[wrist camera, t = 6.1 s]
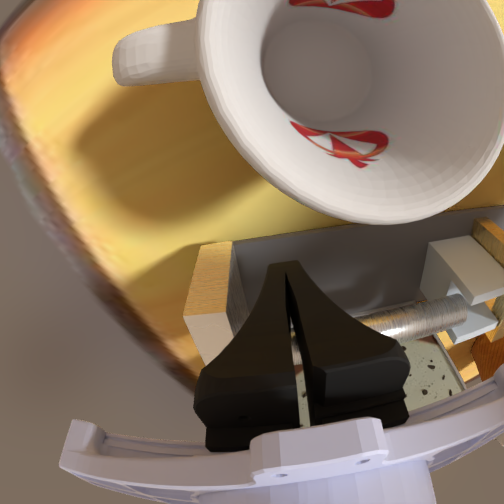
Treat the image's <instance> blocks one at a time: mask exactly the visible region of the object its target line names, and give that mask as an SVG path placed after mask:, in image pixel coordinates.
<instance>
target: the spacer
mask: <svg viewBox="0 0 504 504" xmlns="http://www.w3.org/2000/svg"><path fill="white" fill-rule="evenodd" d="M471 237H472V238H473V239H474V240H475V241H476V242H478V243H479V244H480V245H481V246H482V247H483V248H484V249H485V250H486V251H487V252H488V253H489V254H490V255H491V256H492V257H493V258H494V259H495V260H496V261H497V262H498V263H499V264H500V265H501V267H502V268H503V269H504V231H503V230H502V229H501V228H500V227H499V226H497V225H496V224H495V223H494V222H492V221H491V220H490V219H489V218H487V217H481V218H475V219H474V222H473V227H472V232H471ZM484 302H485V303H486V305H487V306H488V307H489V309H490V310H491V312H492V313H493V314H494V316H495V317H496V318H497V320H498V321H499V322H498V324H497V326H496V328H495V329H493V330H490V331H488V332H486V333H485V334H486V336H487V337H488V339H489V340H490V342H494V341H496V340H498V339H500V338H502V337H503V336H504V294H503V295H501V296H498V297H497V298H496V299H495V298H493V299H490V300H487V301H484Z"/></svg>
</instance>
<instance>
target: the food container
mask: <svg viewBox="0 0 504 504" xmlns="http://www.w3.org/2000/svg"><path fill="white" fill-rule="evenodd" d="M414 304H417V303H416V301H415V300H412V301H408V302H404V303H400V304H396V305H391V306H387V307H382V308H378V309H373V310H368V311H364V312H359V313H354V314H349V315H350V316H352V317H353V318H354V317H359V316H364V315H369V314H374V313H379V312H383V311H388V310H392V309H397V308H401V307H405V306H410V305H414ZM291 328H293V324H291ZM400 345H401V347H402V348H403V350H404V352H405V353H406V355H407V357H408V360H409V362H410V366H411V369H410V373H409V375H408V377H407V379H406V382H405V384H404V386H403V389H404V392H405V395H406V397H405V399H404V401H405V404H406V407H407V410H408V412H409V411H412V410H415V409H418V408H421V407H424V406H426V405H429V404H432V403H435V402H437V401H440V400H442V399H445V398H447V397H450V396H452V395H455V394H457V393H459V392H462V391H464V390H466V389H468V388H467V387H466V385H465V383H464V381H463V379H462V377H461V375H460V373H459V372H458V370H457V368H456V366H455V364H454V363H453V361H452V359H451V357H450V356H449V354H448V352H447V350H446V349H445V347H444V345H443V344H442V342H441V340H440V339H439V337H438V335H437V334H433V335H430V336H426V337H423V338H419V339H416V340H412V341H409V342H405V343H401V344H400ZM294 368H295V375H296V383H297V393H298V404H299V417H300V428H304V427H310V420H309V411H308V403H307V395H306V387H305V380H304V373H303V366H302V364H298V365H294Z"/></svg>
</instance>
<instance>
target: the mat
mask: <svg viewBox="0 0 504 504" xmlns="http://www.w3.org/2000/svg"><path fill="white" fill-rule="evenodd" d="M481 217H487V218H489V219H490V220H491V221H492V222H494V223H495V224H496V225H497V226H499V227H500V228H501V229H502V230H503V231H504V205H500V206H491V207H483V208H474V209H466V210H458V211H449V212H441V213H437V214H435V215H433V216H430V217H428V218H425V219H422V220H418V221H413V222H409V223H403V224H394V225H370V224H361V223H357V224H350V225H342V226H335V227H328V228H321V229H314V230H307V231H300V232H293V233H286V234H279V235H272V236H266V237H259V238H252V239H245V240H239V241H232V242H233V246H234V251H235V255H236V259H237V264H238V268H239V272H240V276H241V281H242V285H243V289H244V293H245V298H246V302H247V306H248V310H249V314H250V313H251V311H252V309H253V307H254V305H255V303H256V301H257V299H258V296H259V294H260V291H261V289H262V286H263V283H264V280H265V277H266V273H267V266H268V265H269V264H272V263H279V262H286V261H293V260H298V261H299V262H300V263H301V265H302V266H303V268H304V269H305V271H306V272H307V274H308V275H309V276H310V277H311V279H312V280H313V281H314V282H315V283H316V285H317V286H318V287H319V288H320V289H321V290H322V291H323V292H324V293H325V294H326V295H327V296H328V297H329V298H330V299H331V300H332V301H333V302H334V303H335V304H336V305H338V306H339V307H340V308H341V309H342V310H344V311H345V312H346V313H348V314H354V313H359V312H364V311H368V310H373V309H378V308H382V307H387V306H391V305H396V304H400V303H404V302H408V301H412V300H415V301H416V302H420V301H424V300H427V299H426V297H425V296H424V294H423V293H422V291H421V290H420V284H421V279H422V275H423V270H424V265H425V260H426V255H427V249H428V243H429V242H433V241H439V240H445V239H450V238H456V237H462V236H467V235H470V236H471V232H472V227H473V222H474V219H475V218H481ZM290 319H291V317H290ZM291 324H292V321H291Z"/></svg>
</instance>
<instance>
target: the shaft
mask: <svg viewBox="0 0 504 504" xmlns="http://www.w3.org/2000/svg"><path fill="white" fill-rule="evenodd" d="M467 315H468V309H467V304H466V301H465V299H464V297H463V296H462V295H461V294H459V293H456V294H452V295H449V296H445V297H441V298H438V299H434V300H430V301H426V302H422V303H418V304H414V305H410V306H405V307H401V308H397V309H392V310H388V311H383V312H379V313H374V314H369V315H364V316H359V317H354V318H355V319H356V320H358V321H360V322H361V323H363V324H364V325H366V326H368V327H370V328H372V329H374V330H375V331H377V332H380V333H382V334H384V335H387V336H389V337H391V338H394V339H396V340H397V341H398V342H399V344H401V343H405V342H409V341H412V340H416V339H419V338H423V337H426V336H430V335H433V334H436V333H439V332H443V331H446V330H449V329H452V328H455V327H458V326H461V325H463V324H464V323H465V322H466V319H467ZM248 316H249V310H248V306H247V302H246V298H245V293H244V289H243V285H242V281H241V276H240V272H239V268H238V264H237V259H236V255H235V251H234V246H233V242H232V241H227V242H220V243H214V244H207V245H201V246H200V250H199V254H198V258H197V261H196V265H195V269H194V273H193V277H192V280H191V284H190V288H189V292H188V296H187V300H186V305H185V309H184V313H183V318H184V321H185V323H186V325H187V327H188V329H189V332H190V334H191V336H192V338H193V340H194V343H195V345H196V347H197V349H198V351H199V353H200V355H201V357H202V359H203V362H204V364H205V366H206V365H208V364H209V363H210V362H211V361H212V360H213V359H214V358H215V357H216V356H218V355H219V354H220V353H221V351H222V350H223V349H224V348H225V347H226V346H227V345H228V344H229V343H230V341H231V340H232V339H233V338H234V337H235V335H236V334H237V333H238V331H239V330H240V328H241V327H242V326H243V324H244V323H245V321H246V319H247V318H248ZM291 348H292V354H293V361H294V365H298V364H302V360H301V355H300V352H299V348H298V344H297V340H296V336H295V332H294V328H291Z"/></svg>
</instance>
